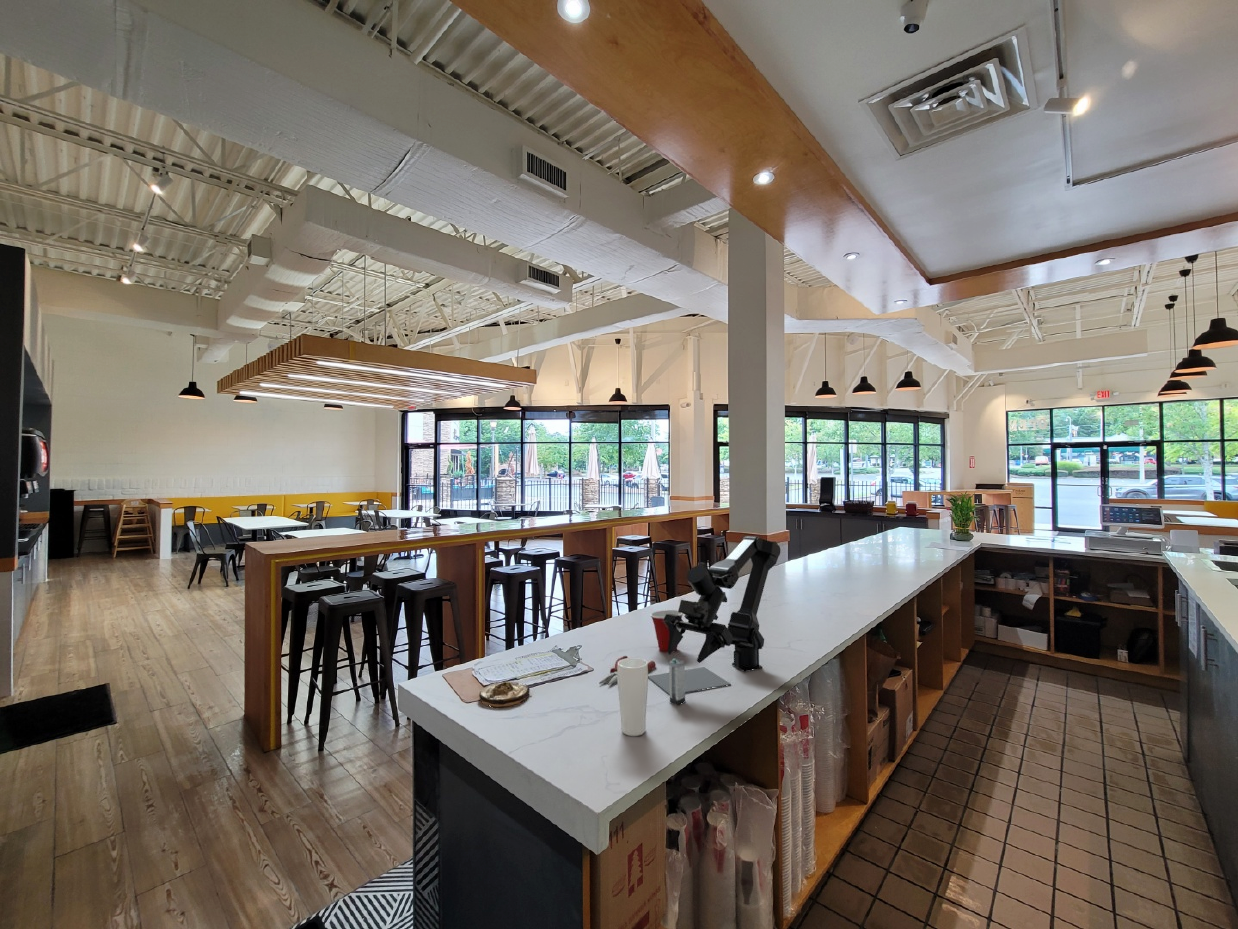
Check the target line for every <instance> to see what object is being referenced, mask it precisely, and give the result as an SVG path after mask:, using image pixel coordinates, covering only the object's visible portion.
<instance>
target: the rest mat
mask: <svg viewBox="0 0 1238 929" xmlns="http://www.w3.org/2000/svg"><path fill="white" fill-rule="evenodd" d="M648 680H650V681H651V682H652V683H654V685H656V686H657V687H659V689H661V690H662V691H664V692H665V693H666V694H667V696H669V697H670V679H669V672H664V673H658V674H653V675H648ZM726 685H730V686H732V684H731V683H730V682H729V681H727V680H726V679H724V678H722V677H721V676H720V675H718V674H716V673H715V672H713V671H711V670H710V669H709V668H706V667H705V666H703V667H697V668H691V669H685V694H690V692H691V693H694V691H696V692H699V691H698V690H702V689H707V688H712V687H719V688H723V687H722V686H724V687H727V686H726ZM702 691H703V690H702Z"/></svg>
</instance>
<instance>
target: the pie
mask: <svg viewBox="0 0 1238 929" xmlns="http://www.w3.org/2000/svg"><path fill="white" fill-rule="evenodd" d="M530 690H531V689H530V687H529V686H528V685H527V684H526V683H525V684H524V683H521V684H520V683H519V681H518V682H516V681H507V680H506V681H503V682H500V681H498V682H495V683H491V684H488V685H487V686H485V687H483V688H482V690H481V691H480V692H479V694H478V697H479V701H480V702H481V701H482V702H481V703H482V704H483V705H484V704H485V705H484V706H487V705H490V706H491V707H494V708H493V709H497V707H498V709H504V708H510V706H511V707H515V706H514V705H516V706H517V705H519V704H522V703H524V702H525V701H526V702H528V701H527V700H526V699H527V698H528V697H531V698H532V697H533V696H532V695H530Z"/></svg>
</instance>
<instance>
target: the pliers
mask: <svg viewBox="0 0 1238 929" xmlns="http://www.w3.org/2000/svg"><path fill="white" fill-rule="evenodd" d="M625 658H629V657H628V656H627V655H623V656H621V657H619V658H617V659H616V660H615V664H614V667H612V668H610V671H609V672H610V673H609V674H608V675H607V676H605V677H604V678H603V679H602V680H600V681H599V685H603V684H605V683H607V686H610V685H613V684H615V683H618V681H617V665H618V661H620V660H622V659H625ZM647 663H648V673H649V672H652V671H653V670H654V669H655V668H656V667H657V666H656V662H655V661H654V660H651V661H649V662H647Z"/></svg>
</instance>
